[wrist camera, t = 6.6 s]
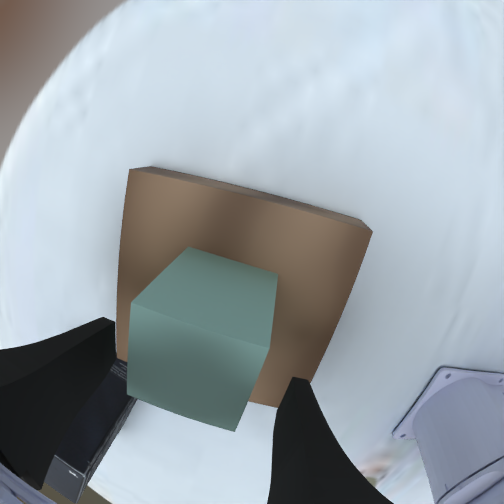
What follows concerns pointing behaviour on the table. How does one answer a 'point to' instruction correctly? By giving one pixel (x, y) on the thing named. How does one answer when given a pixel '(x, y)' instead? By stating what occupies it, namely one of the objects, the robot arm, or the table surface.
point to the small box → (91, 434)
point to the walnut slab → (245, 259)
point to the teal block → (201, 337)
